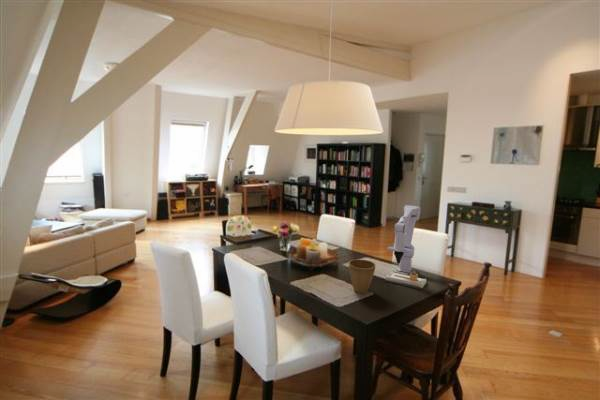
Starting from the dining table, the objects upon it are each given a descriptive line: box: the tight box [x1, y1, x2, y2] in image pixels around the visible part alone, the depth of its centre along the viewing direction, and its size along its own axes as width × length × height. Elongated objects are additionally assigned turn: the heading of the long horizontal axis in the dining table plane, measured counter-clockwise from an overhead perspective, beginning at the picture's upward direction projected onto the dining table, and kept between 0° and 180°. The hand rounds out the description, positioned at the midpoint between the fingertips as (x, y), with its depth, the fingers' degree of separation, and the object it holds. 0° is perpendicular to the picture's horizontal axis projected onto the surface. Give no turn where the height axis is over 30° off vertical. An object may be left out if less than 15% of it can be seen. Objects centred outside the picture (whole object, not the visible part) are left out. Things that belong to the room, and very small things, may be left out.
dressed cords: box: [384, 271, 428, 290], centre depth 202 cm, size 16×21×1 cm
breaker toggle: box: [409, 270, 419, 281], centre depth 199 cm, size 3×4×4 cm
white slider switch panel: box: [385, 271, 427, 289], centre depth 202 cm, size 9×22×2 cm, turn 56°
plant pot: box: [348, 259, 376, 294], centre depth 186 cm, size 15×15×16 cm
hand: (398, 263), depth 206 cm, fingers closed
